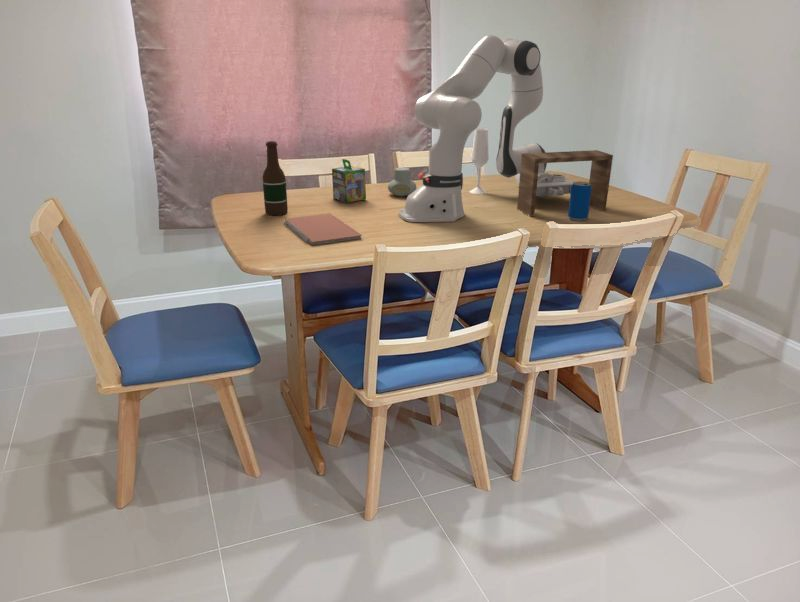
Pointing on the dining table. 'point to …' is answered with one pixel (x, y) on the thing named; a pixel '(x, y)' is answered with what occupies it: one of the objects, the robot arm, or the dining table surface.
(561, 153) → the walnut riser shelf
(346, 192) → the chalk box
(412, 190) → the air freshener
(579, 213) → the beverage can
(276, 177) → the beer bottle
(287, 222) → the notebook
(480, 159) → the champagne flute
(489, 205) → the dining table surface
